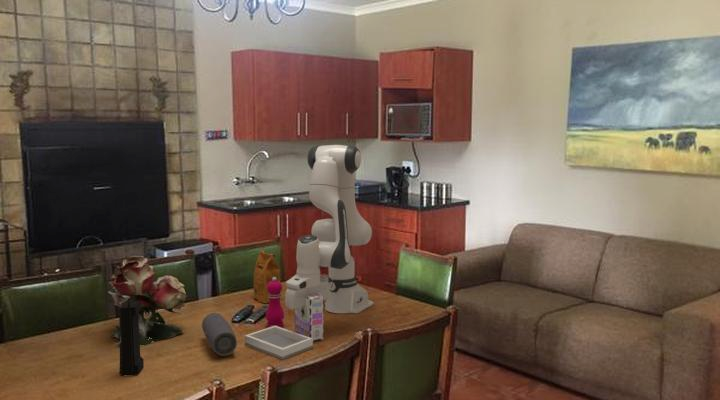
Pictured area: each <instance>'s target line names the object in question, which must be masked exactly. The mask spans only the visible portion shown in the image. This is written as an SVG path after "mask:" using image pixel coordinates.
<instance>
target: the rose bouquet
mask: <svg viewBox="0 0 720 400" xmlns="http://www.w3.org/2000/svg"><path fill="white" fill-rule="evenodd" d="M148 260H149V259H148V258H146V257H144V256H143V255H131V256H130V257H129V258H124V260H123V261H122V265H121V266H119V265H118V266H116V269H117V270H118V271H115V272H113V273H112V274H111V276H110V279H114V280H112V281H108V284H110V285H111V286H113V287H112V288H111V290H109V291H107V293H109V294H110V295H111V296H112V298H113V300H114V305H115V306H118V307H119V308H120V307H121V306H122V305H123V304H124V303H125V302H126V301H128V299H130V300H129V301H140V302H141V310H140V311H139V312H138V316H139V338H140V345H144V346H147V345H151V344H152V343H151V342H152V341H154V343H157V342H159V341H160V340H165V339H170V338H174V337H176V336H177V335H179V334H184V332H183V329H182V328H181V327H178V326H174V325H173V324H170V323H169V322H166V321H165V320H164V318H163V316H162V315H161V314H160V312H158V310H162V309H163V310H165V311H166V312H168V313H171V314H173V315H175V314H179V315H180V313H178V312H176V311H174V310H181V309H182V308H183V307H185V306H186V303H185V300H186V298H187V297H188V295H187V294H186V290H185V288H184V287H185V285H184V283H182V282H180V281H179V279H178V278H177V277H174V276H172V275H166V274H165V275H163V276H160V277H158V278H156V281H154V279H155V278H154V277H155V272H156V271H153V270H154V266H153V265H150V264H147V263H148ZM181 301H183V302H181ZM173 309H174V310H173ZM150 313H151V314H150ZM145 317H147V318H145ZM113 328H114V332H113V333H111V334H110V336H111V337H110V338H116V339H119V340H120V341H119V342H114V344H115V345H116V346H118V347H119V348H120V343H121V332H120V324H119V325H115V326H113ZM149 337H150V338H152V339H149ZM148 339H149V340H148Z"/></svg>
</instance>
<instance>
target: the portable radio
mask: <svg viewBox="0 0 720 400" xmlns="http://www.w3.org/2000/svg"><path fill="white" fill-rule="evenodd" d="M129 300H130V299H128V301H126V302H125V303H124V304H123V305H122V306H121V307H120V306H119V308H118V321H119V325H120V332H121V343H120V347H119V375H120V376H121V377H124V375H133V376H138V374H139V373H141V372H142V371H141V370H143V369H144V367H145V366H144V358H143V357H142V356H141V346H140V338H139V316H138V312H139V311H140V310H141V302H140V301H129ZM139 375H140V374H139Z"/></svg>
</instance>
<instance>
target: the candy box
mask: <svg viewBox="0 0 720 400" xmlns="http://www.w3.org/2000/svg"><path fill="white" fill-rule="evenodd" d="M323 298H324V297H322V296H320V295H318V294H316V293H315V294H311V295H308V296H306V297H305V306H303V307H302V310H301V312H302V313H304V317H303V318H298V313H297V311H296V309H294V332H295V333H298V334H301V335H304V336H307V337H310V338H313V342H316V341H321V340H324V300H323Z"/></svg>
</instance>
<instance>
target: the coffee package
mask: <svg viewBox="0 0 720 400" xmlns="http://www.w3.org/2000/svg"><path fill="white" fill-rule="evenodd" d="M258 254H259V255H258V257H257V260H256V263H255V266H254V273H253V274H254V275H253V299H254V300H257V302H259V303H263V304H269V302H270V299H269V297H268V296H269V295H268V293H269V292H268V291H267V285H268V283H269V282H271V281H272V278H273V277H276V278H277V280H276V281H279V282H280V283H281V275H280V274H281V269H280V267H279V265H278V263H277V262H276V260H275V258H276V254H273V253H265V251H264V250H263V249H261V250H260V251H259V253H258Z"/></svg>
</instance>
